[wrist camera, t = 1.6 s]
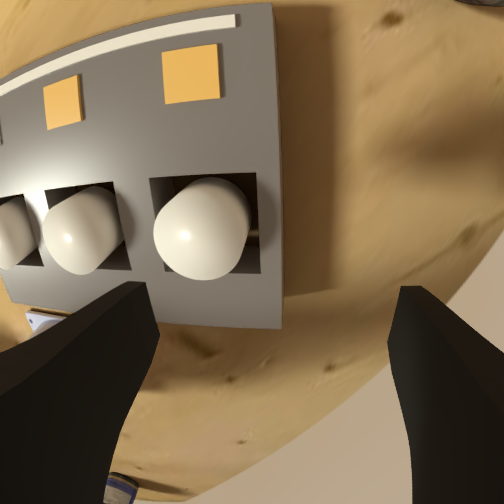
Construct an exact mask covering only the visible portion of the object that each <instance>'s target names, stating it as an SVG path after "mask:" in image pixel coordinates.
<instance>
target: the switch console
mask: <svg viewBox="0 0 504 504" xmlns="http://www.w3.org/2000/svg"><path fill="white" fill-rule="evenodd" d="M249 172H256V178H257V199H258V220H259V241H260V247H244V248H243V251H242V254H241V257H240V259H239V261H238V263H237V264H236V266H235V267H234V268H233V269H232V270H231V271H230V272H229V273H227V274H226V275H224V276H222V277H219V278H216V279H213V280H195V279H190V278H187V277H185V276H182V275H180V274H179V273H177V272H175V271H174V270H173V269H171V268H170V267H169V266H168V265H167V264H166V263H165V262H164V261H163V259H162V258H161V256H160V255H159V253H158V251H157V248H156V246H155V242H154V235H153V230H154V224H155V220H156V218H157V216H158V214H159V212H160V211H161V209H162V208H163V207H164V206H165V205H166V204H167V203H168V202H169V201H170V200H172V199H173V198H174V197H175V192H174V184H173V176H181V175H198V174H219V173H249ZM111 181H113V183H114V189H115V195H116V200H117V205H118V210H119V215H120V220H121V225H122V230H123V234H124V239H125V243H126V246H118V247H117V248H116V249H115V250H114V251H113V252H112V253H111V254H110V255H109V256H108V257H107V258H106V259H105V260H104V261H103V262H102V263H101V264H100V265H99V266H98V267H97V268H96V269H95V270H94V271H93V272H91V273H89V274H85V275H77V274H73V273H71V272H69V271H67V270H65V269H64V268H62V267H61V266H60V265H59V264H58V263H57V262H56V261H55V260H54V259H53V257H52V256H51V254H50V253H49V251H48V249H47V246H46V244H45V241H44V237H43V222H44V218H45V216H46V214H47V212H48V211H49V210H50V209H51V208H52V207H54V206H55V205H57V204H59V203H60V202H62V201H64V200H66V199H67V198H69V197H71V196H72V195H74V194H76V193H77V192H76V187H75V186H77V185H85V184H93V183H102V182H111ZM18 194H24V198H25V203H26V207H27V211H28V214H29V218H30V222H31V226H32V229H33V233H34V236H35V239H36V243H37V246H38V248H37V249H35V250H34V251H33V252H31V253H30V254H29V255H28V256H26V257H25V258H24V259H23V260H21V261H20V262H19V263H18V264H16V265H15V266H14V267H13V268H11V269H9V270H5V269H2V268H0V275H1V278H2V280H3V283H4V285H5V288H6V290H7V292H8V295H9V297H10V299H11V301H12V302H13V303H19V304H24V305H30V306H36V307H42V308H48V309H54V310H61V311H67V312H74V313H75V312H76V311H78V310H80V309H81V308H83V307H84V306H86V305H87V304H89V303H91V302H92V301H94V300H95V299H97V298H99V297H100V296H102V295H103V294H105V293H107V292H108V291H110V290H112V289H113V288H115V287H117V286H119V285H121V284H123V283H125V282H127V281H139V282H146V286H147V290H148V293H149V297H150V301H151V305H152V309H153V312H154V316H155V319H156V322H161V323H172V324H185V325H199V326H215V327H233V328H257V329H282V316H283V302H284V237H283V180H282V145H281V117H280V94H279V73H278V55H277V38H276V22H275V16H274V11H273V7H272V3H257V4H244V5H233V6H224V7H216V8H209V9H203V10H196V11H190V12H185V13H180V14H175V15H170V16H165V17H161V18H156V19H152V20H148V21H144V22H140V23H136V24H133V25H129V26H126V27H122V28H119V29H116V30H112V31H109V32H106V33H103V34H100V35H97V36H94V37H92V38H89V39H86V40H83V41H81V42H78V43H75V44H73V45H70V46H68V47H65V48H63V49H61V50H58V51H56V52H54V53H51V54H49V55H47V56H45V57H43V58H40V59H38V60H36V61H34V62H32V63H30V64H28V65H26V66H24V67H22V68H20V69H18V70H16V71H14V72H12V73H11V74H9V75H7V76H5V77H3V78H2V79H0V206H1V205H2V204H4V203H6V202H8V201H10V200H12V199H13V197H12V195H18Z"/></svg>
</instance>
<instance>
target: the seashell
mask: <svg viewBox="0 0 504 504" xmlns="http://www.w3.org/2000/svg"><path fill="white" fill-rule="evenodd" d="M456 1H459V2H463V3H467V4H472V5H479V6H492V7H502V6H504V0H456Z"/></svg>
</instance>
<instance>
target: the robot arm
mask: <svg viewBox="0 0 504 504" xmlns="http://www.w3.org/2000/svg"><path fill="white" fill-rule="evenodd" d="M25 315H26V317H27V319H28V322H29V324H30V326H31V328H32V330H33V333H32V334H31V335H30V336H29V338H28V339H27V340H26V341H25V342H23V343H21V344H19V345H17V346H15V347H13V348H10V349H8V350H6V351H3V352H1V353H0V504H103V500H104V495H105V489H106V483H107V479H108V474H109V470H110V466H111V462H112V458H113V454H114V451H115V448H116V444H117V441H118V438H119V434H120V431H121V429H122V426H123V424H124V421H125V419H126V417H127V415H128V412H129V410H130V408H131V406H132V404H133V402H134V399H135V397H136V395H137V393H138V391H139V389H140V387H141V385H142V382H143V380H144V378H145V376H146V374H147V372H148V369H149V367H150V365H151V363H152V360H153V357H154V354H155V351H156V347H157V344H158V340H159V337H160V333H159V330H158V326H157V323H156V319H155V316H154V312H153V309H152V305H151V301H150V297H149V293H148V290H147V286H146V282H139V281H127V282H125V283H123V284H121V285H119V286H117V287H115V288H113V289H112V290H110V291H108V292H107V293H105V294H103V295H102V296H100V297H99V298H97V299H95V300H94V301H92V302H91V303H89V304H87V305H86V306H84V307H83V308H81V309H80V310H78V311H76V312H75V313H73V314H72V315H70V316H68V317H63V316H57V315H51V314H46V313H40V312H35V311H29V310H28V311H27V312H26V313H25ZM387 343H388V350H389V358H390V364H391V371H392V375H393V379H394V383H395V386H396V390H397V394H398V398H399V401H400V406H401V409H402V413H403V418H404V422H405V426H406V430H407V434H408V440H409V446H410V454H411V468H412V495H413V496H412V501H413V502H412V504H504V353H503V352H502V351H500V350H499V349H498V348H497V347H495V346H494V345H493V344H492V343H490V342H489V341H488V340H487V339H485V338H484V337H483V336H481V335H480V334H479V333H478V332H477V331H475V330H474V329H473V328H472V327H471V326H469V325H468V324H467V323H466V322H465V321H464V320H462V319H461V318H460V317H459V316H458V315H457V314H455V313H454V312H453V311H452V310H451V309H449V308H448V307H447V306H446V305H445V304H444V303H442V302H441V301H440V300H439V299H438V298H436V297H435V296H434V295H433V294H431V293H430V292H429V291H427V290H426V289H425V288H423V287H422V286H401V288H400V293H399V297H398V302H397V306H396V310H395V314H394V318H393V322H392V326H391V330H390V334H389V338H388V341H387Z"/></svg>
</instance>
